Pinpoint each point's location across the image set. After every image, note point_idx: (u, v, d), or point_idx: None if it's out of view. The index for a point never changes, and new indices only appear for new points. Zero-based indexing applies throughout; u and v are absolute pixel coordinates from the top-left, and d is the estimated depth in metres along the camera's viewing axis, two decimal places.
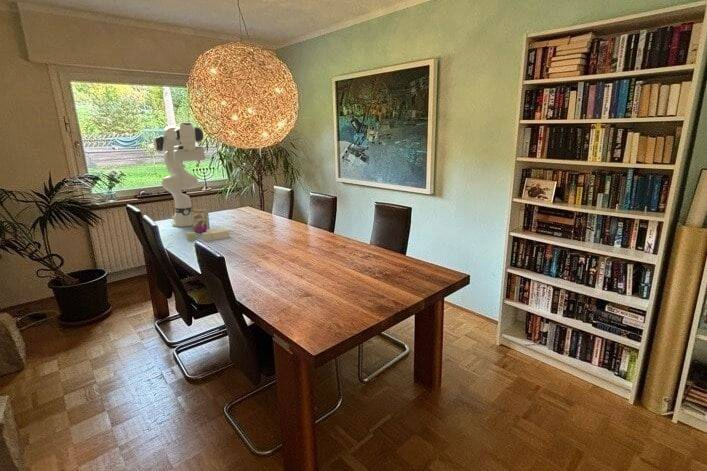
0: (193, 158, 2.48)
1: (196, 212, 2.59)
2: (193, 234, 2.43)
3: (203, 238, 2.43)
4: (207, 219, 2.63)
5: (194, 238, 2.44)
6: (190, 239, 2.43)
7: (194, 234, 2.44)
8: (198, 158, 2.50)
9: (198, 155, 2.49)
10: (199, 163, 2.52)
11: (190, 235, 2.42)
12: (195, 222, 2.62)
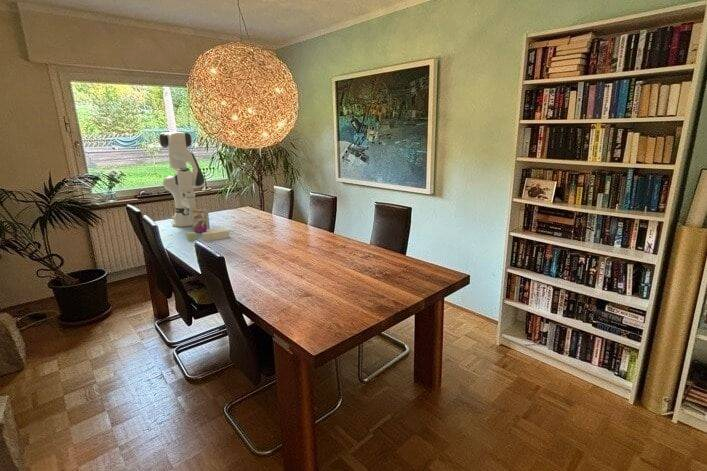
0: None
1: (196, 212, 2.59)
2: (193, 234, 2.43)
3: (203, 238, 2.43)
4: (207, 219, 2.63)
5: (194, 238, 2.44)
6: (190, 239, 2.43)
7: (194, 234, 2.44)
8: None
9: None
10: (187, 208, 2.45)
11: (190, 235, 2.42)
12: (195, 222, 2.62)
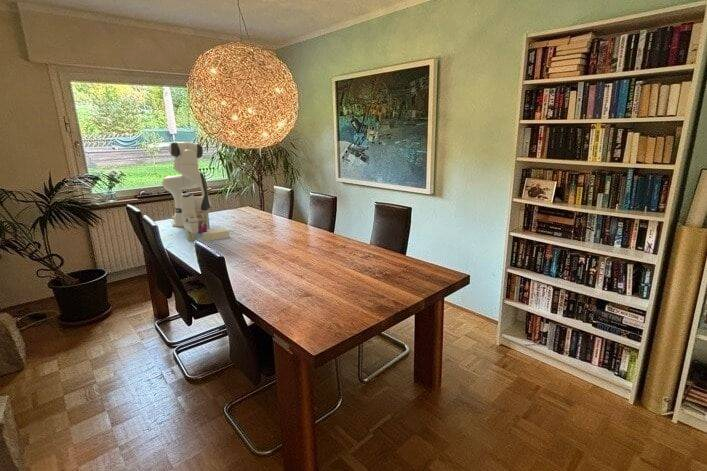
0: None
1: (196, 212, 2.59)
2: None
3: (203, 238, 2.43)
4: (207, 219, 2.63)
5: (194, 238, 2.44)
6: (190, 239, 2.43)
7: None
8: None
9: None
10: None
11: (190, 235, 2.42)
12: None
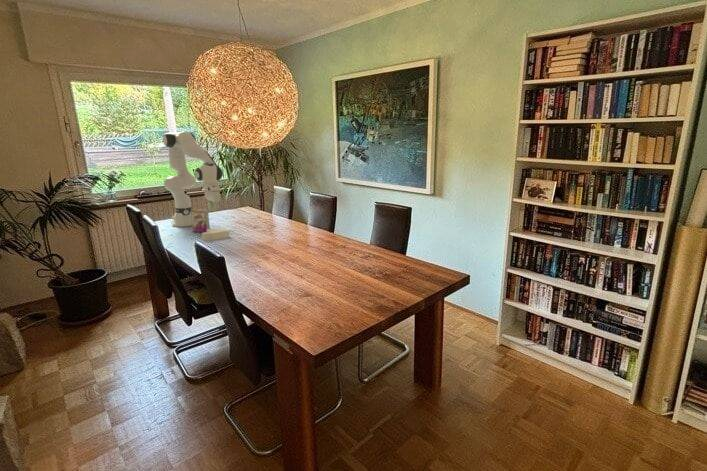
0: None
1: (196, 212, 2.59)
2: None
3: (203, 238, 2.43)
4: (207, 219, 2.63)
5: None
6: (211, 208, 2.45)
7: None
8: None
9: None
10: None
11: (211, 204, 2.44)
12: (195, 222, 2.62)
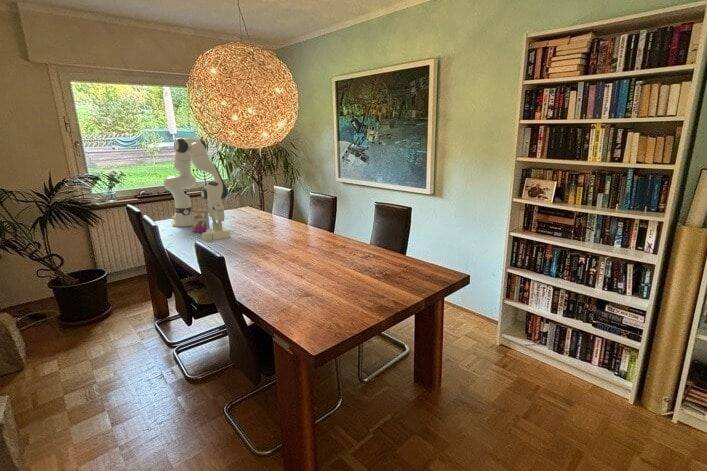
0: None
1: (196, 212, 2.59)
2: None
3: (203, 238, 2.43)
4: (207, 219, 2.63)
5: (220, 228, 2.51)
6: (216, 229, 2.50)
7: None
8: None
9: None
10: (215, 220, 2.56)
11: (216, 225, 2.49)
12: (195, 222, 2.62)
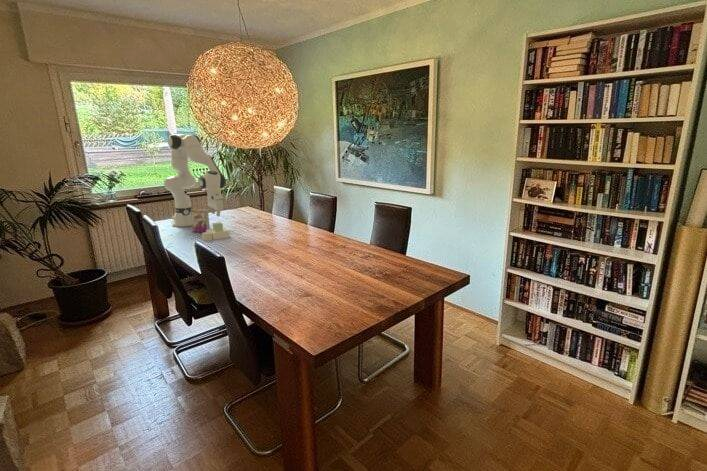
0: None
1: (196, 212, 2.59)
2: (219, 224, 2.50)
3: (203, 238, 2.43)
4: (207, 219, 2.63)
5: (220, 228, 2.51)
6: (217, 229, 2.50)
7: (220, 224, 2.51)
8: None
9: None
10: (213, 209, 2.54)
11: (217, 225, 2.49)
12: (195, 222, 2.62)
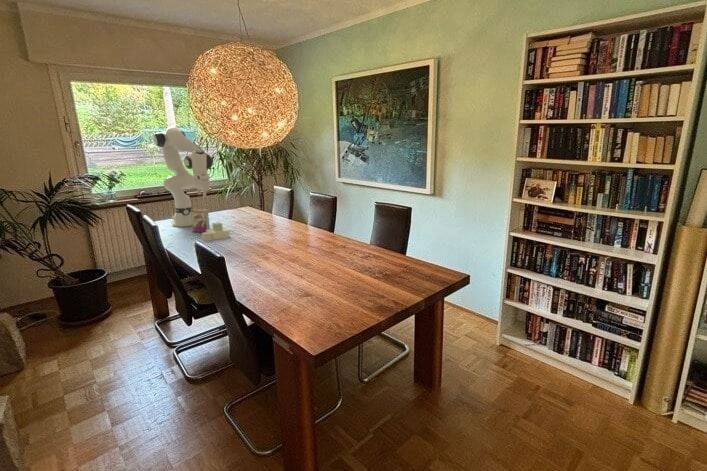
0: None
1: (196, 212, 2.59)
2: (219, 224, 2.50)
3: (203, 238, 2.43)
4: (207, 219, 2.63)
5: (220, 228, 2.51)
6: (216, 229, 2.50)
7: (220, 224, 2.51)
8: None
9: None
10: None
11: (216, 225, 2.49)
12: (195, 222, 2.62)
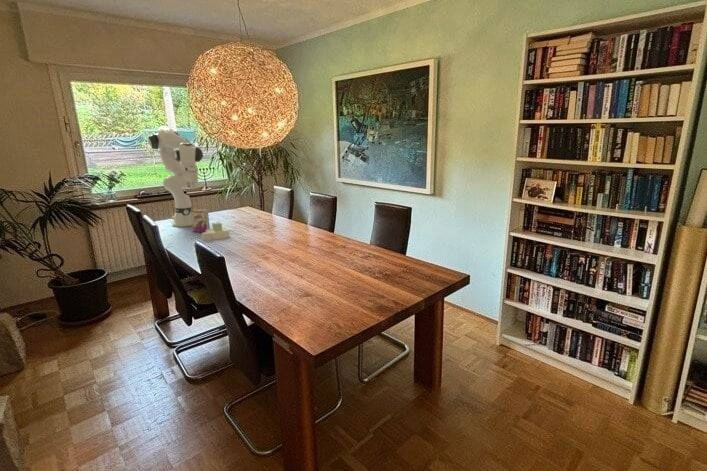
0: None
1: (196, 212, 2.59)
2: (219, 224, 2.50)
3: (203, 238, 2.43)
4: (207, 219, 2.63)
5: (219, 228, 2.51)
6: (216, 229, 2.50)
7: (220, 224, 2.51)
8: None
9: None
10: (189, 183, 2.48)
11: (216, 225, 2.49)
12: (195, 222, 2.62)
